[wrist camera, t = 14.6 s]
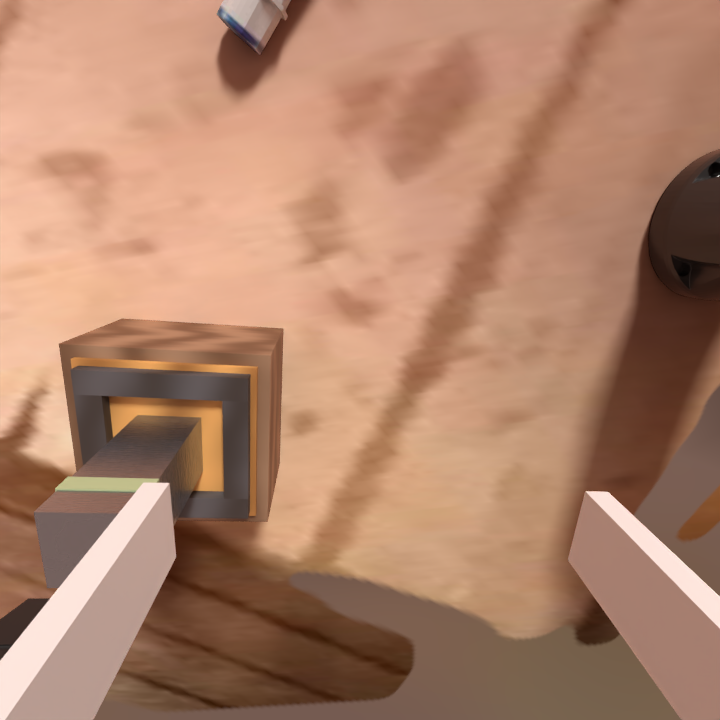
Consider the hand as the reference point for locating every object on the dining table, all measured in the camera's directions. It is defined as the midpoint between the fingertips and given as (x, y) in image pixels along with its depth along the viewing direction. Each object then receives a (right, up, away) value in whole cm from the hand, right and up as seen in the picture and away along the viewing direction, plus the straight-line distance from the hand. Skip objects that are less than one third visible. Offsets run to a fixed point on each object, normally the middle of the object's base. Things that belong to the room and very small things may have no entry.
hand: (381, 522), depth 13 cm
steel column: (-16, -2, +21) cm, 26 cm away
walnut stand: (-17, +1, +31) cm, 35 cm away
